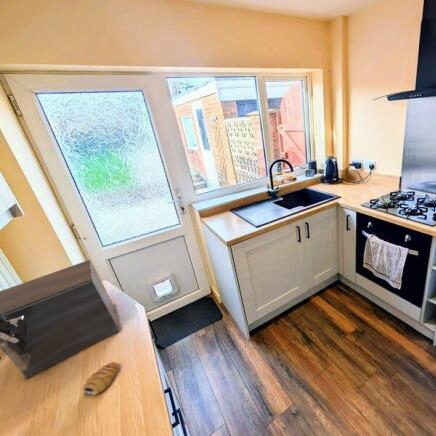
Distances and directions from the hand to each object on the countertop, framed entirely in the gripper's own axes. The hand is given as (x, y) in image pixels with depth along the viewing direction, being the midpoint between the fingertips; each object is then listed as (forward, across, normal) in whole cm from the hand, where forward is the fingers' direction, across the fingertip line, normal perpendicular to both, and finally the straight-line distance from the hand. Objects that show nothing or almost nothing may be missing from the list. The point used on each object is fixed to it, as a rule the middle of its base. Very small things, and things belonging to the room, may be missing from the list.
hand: (10, 355), depth 71 cm
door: (+15, -10, -4) cm, 18 cm away
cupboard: (+15, -10, -16) cm, 24 cm away
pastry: (+15, -16, +14) cm, 26 cm away
